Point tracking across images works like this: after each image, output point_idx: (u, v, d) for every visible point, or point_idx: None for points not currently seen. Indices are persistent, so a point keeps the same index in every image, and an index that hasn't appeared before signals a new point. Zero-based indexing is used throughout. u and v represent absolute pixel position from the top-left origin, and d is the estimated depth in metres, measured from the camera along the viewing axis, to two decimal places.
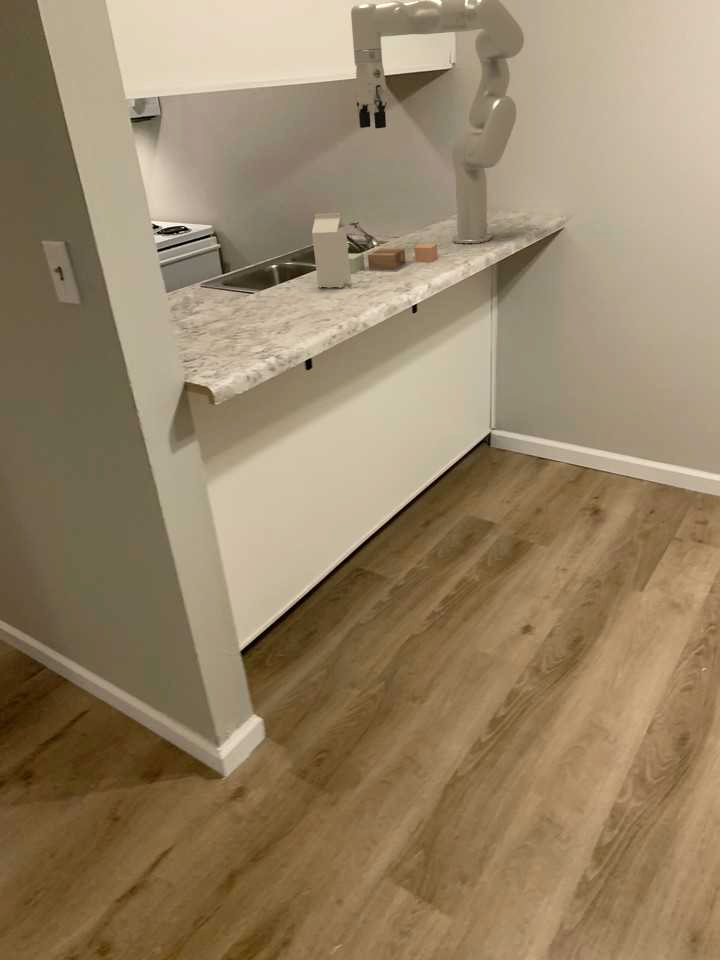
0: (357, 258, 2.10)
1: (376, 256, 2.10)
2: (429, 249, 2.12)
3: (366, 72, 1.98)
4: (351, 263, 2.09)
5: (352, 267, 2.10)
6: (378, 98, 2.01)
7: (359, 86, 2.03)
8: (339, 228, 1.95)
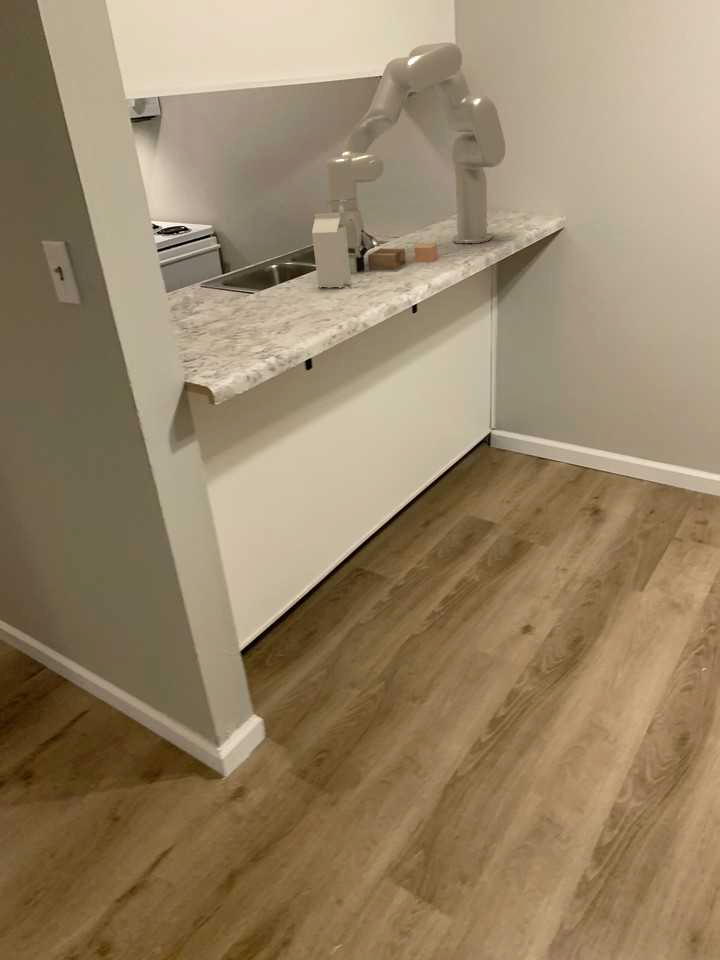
0: None
1: (376, 256, 2.10)
2: (429, 249, 2.12)
3: None
4: (351, 263, 2.09)
5: (352, 267, 2.10)
6: None
7: None
8: (339, 228, 1.95)
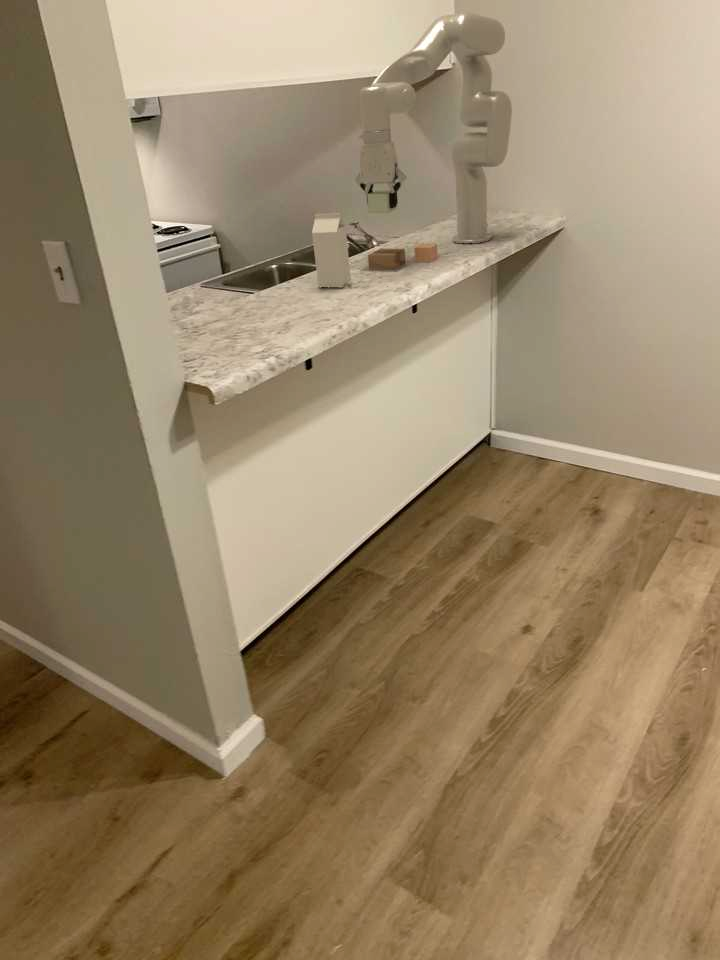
0: None
1: (376, 256, 2.10)
2: (429, 249, 2.12)
3: None
4: (384, 199, 2.02)
5: (385, 204, 2.02)
6: None
7: None
8: (339, 228, 1.95)
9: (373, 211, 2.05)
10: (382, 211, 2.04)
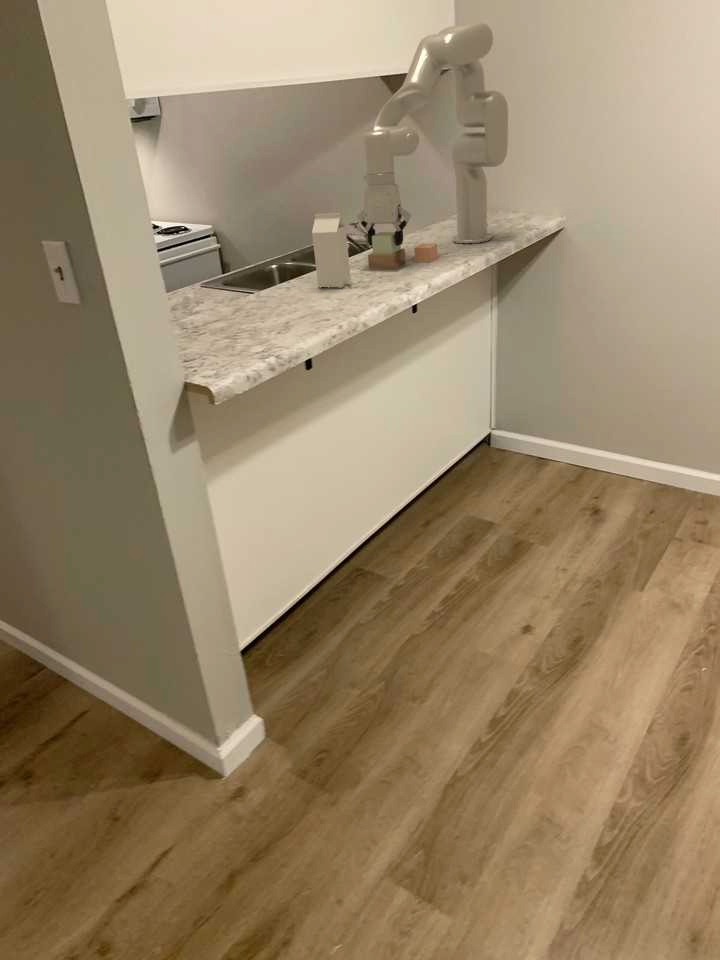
0: (394, 236, 2.08)
1: (376, 256, 2.10)
2: (429, 249, 2.12)
3: None
4: (388, 241, 2.07)
5: (389, 245, 2.08)
6: None
7: None
8: (339, 228, 1.95)
9: (377, 252, 2.10)
10: (386, 252, 2.09)
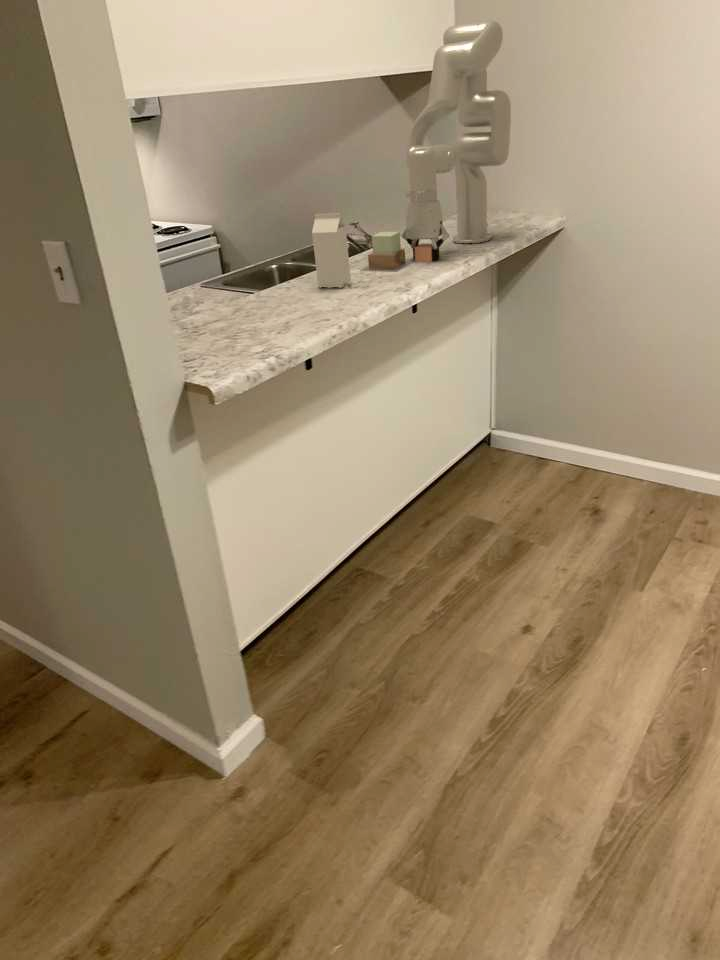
0: (394, 236, 2.08)
1: (376, 256, 2.10)
2: (429, 249, 2.11)
3: None
4: (388, 241, 2.07)
5: (389, 245, 2.08)
6: None
7: None
8: (339, 228, 1.95)
9: (377, 252, 2.10)
10: (386, 252, 2.09)
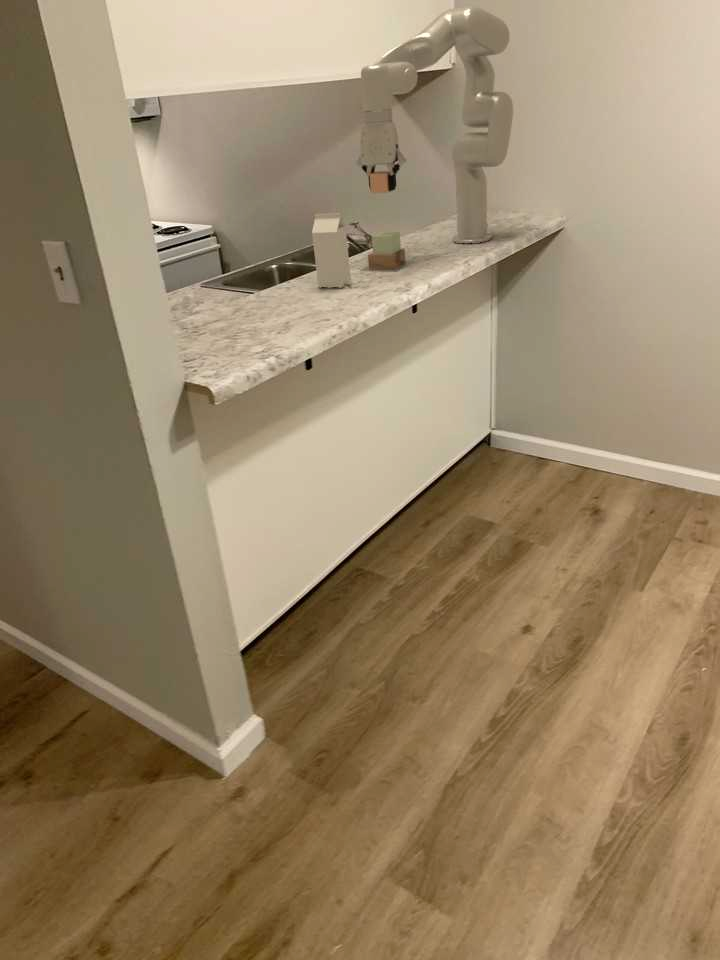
0: (394, 236, 2.08)
1: (376, 256, 2.10)
2: (385, 175, 1.99)
3: None
4: (388, 241, 2.07)
5: (389, 245, 2.08)
6: None
7: None
8: (339, 228, 1.95)
9: (377, 252, 2.10)
10: (386, 252, 2.09)
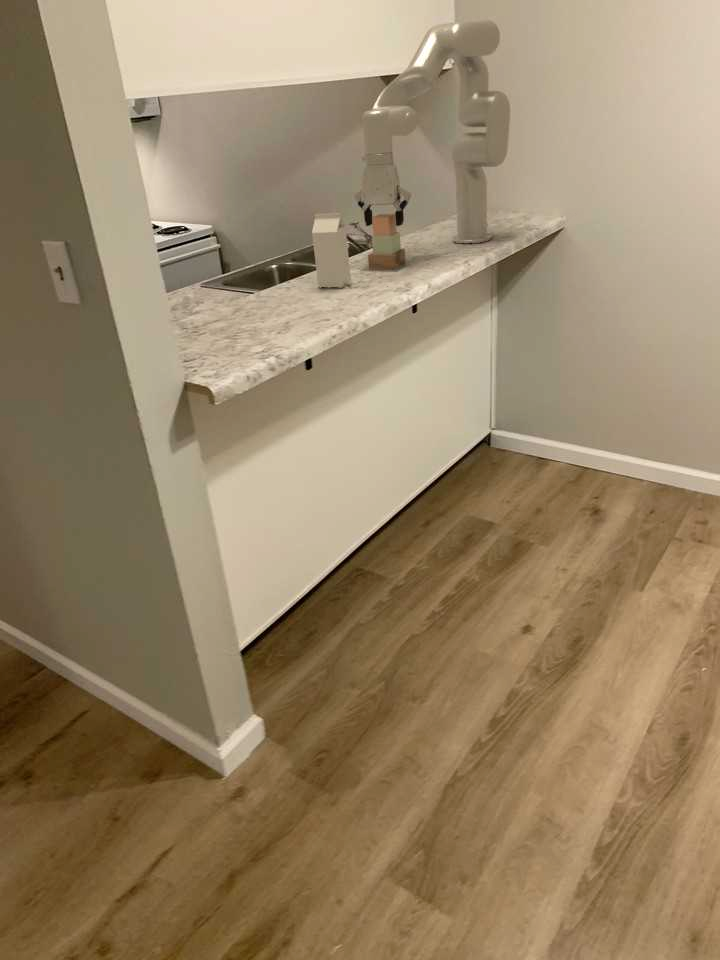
0: (394, 236, 2.08)
1: (376, 256, 2.10)
2: (387, 219, 2.05)
3: None
4: (388, 241, 2.07)
5: (389, 245, 2.08)
6: None
7: None
8: (339, 228, 1.95)
9: (377, 252, 2.10)
10: (386, 252, 2.09)
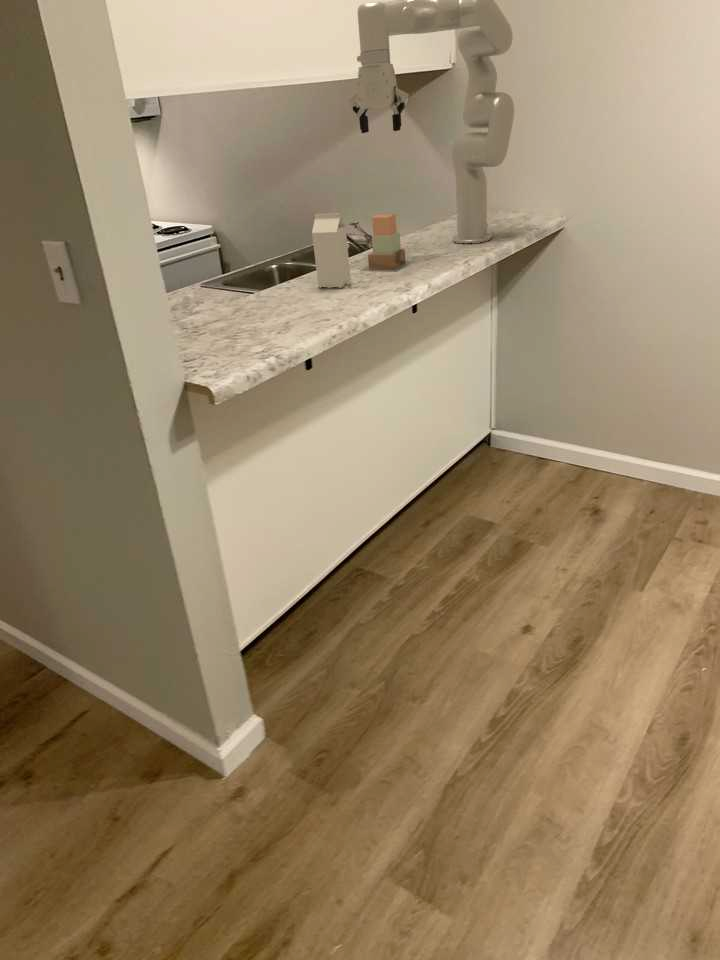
0: (394, 236, 2.08)
1: (376, 256, 2.10)
2: (387, 219, 2.05)
3: None
4: (388, 241, 2.07)
5: (389, 245, 2.08)
6: None
7: None
8: (339, 228, 1.95)
9: (377, 252, 2.10)
10: (386, 252, 2.09)
